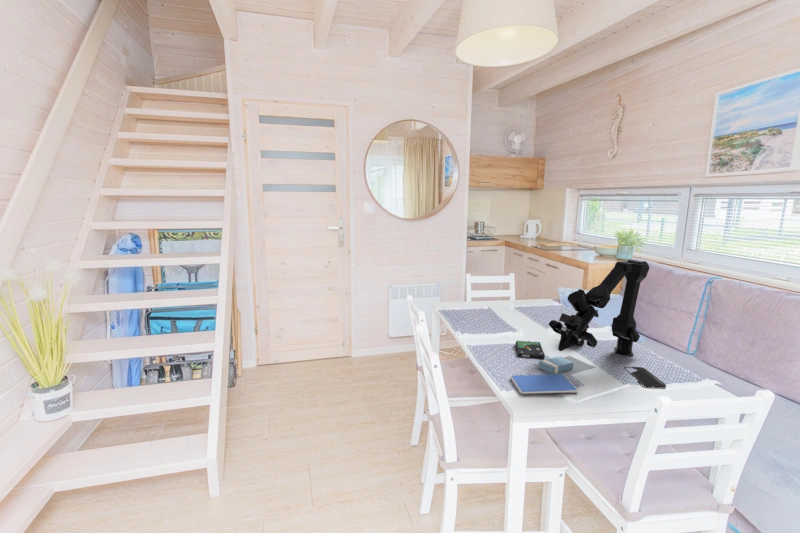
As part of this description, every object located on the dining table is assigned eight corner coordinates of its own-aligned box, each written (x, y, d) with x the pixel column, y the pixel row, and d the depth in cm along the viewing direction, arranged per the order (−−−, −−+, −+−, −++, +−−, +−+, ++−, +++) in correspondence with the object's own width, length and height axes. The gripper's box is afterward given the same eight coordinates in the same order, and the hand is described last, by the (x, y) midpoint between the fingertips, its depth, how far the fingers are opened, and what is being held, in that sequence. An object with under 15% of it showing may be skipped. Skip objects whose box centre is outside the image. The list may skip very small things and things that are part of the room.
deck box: (560, 356, 154) (539, 361, 149) (573, 362, 148) (552, 367, 143) (559, 362, 154) (538, 367, 149) (572, 368, 149) (551, 374, 144)
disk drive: (544, 361, 158) (539, 347, 172) (545, 355, 157) (539, 341, 171) (518, 359, 160) (514, 345, 174) (518, 353, 159) (515, 339, 173)
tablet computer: (562, 376, 142) (563, 373, 142) (579, 393, 130) (579, 390, 129) (509, 378, 142) (509, 375, 141) (521, 396, 129) (521, 392, 129)
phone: (642, 367, 150) (667, 385, 136) (642, 369, 151) (667, 388, 136) (622, 366, 151) (644, 385, 136) (621, 369, 151) (643, 388, 136)
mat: (569, 357, 161) (569, 355, 161) (595, 368, 150) (595, 367, 150) (533, 366, 152) (533, 364, 152) (557, 379, 141) (557, 377, 141)
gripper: (553, 300, 156) (530, 330, 153) (595, 312, 139) (570, 347, 137) (566, 316, 161) (544, 346, 158) (607, 330, 144) (583, 364, 141)
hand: (559, 350), depth 148 cm, fingers closed
